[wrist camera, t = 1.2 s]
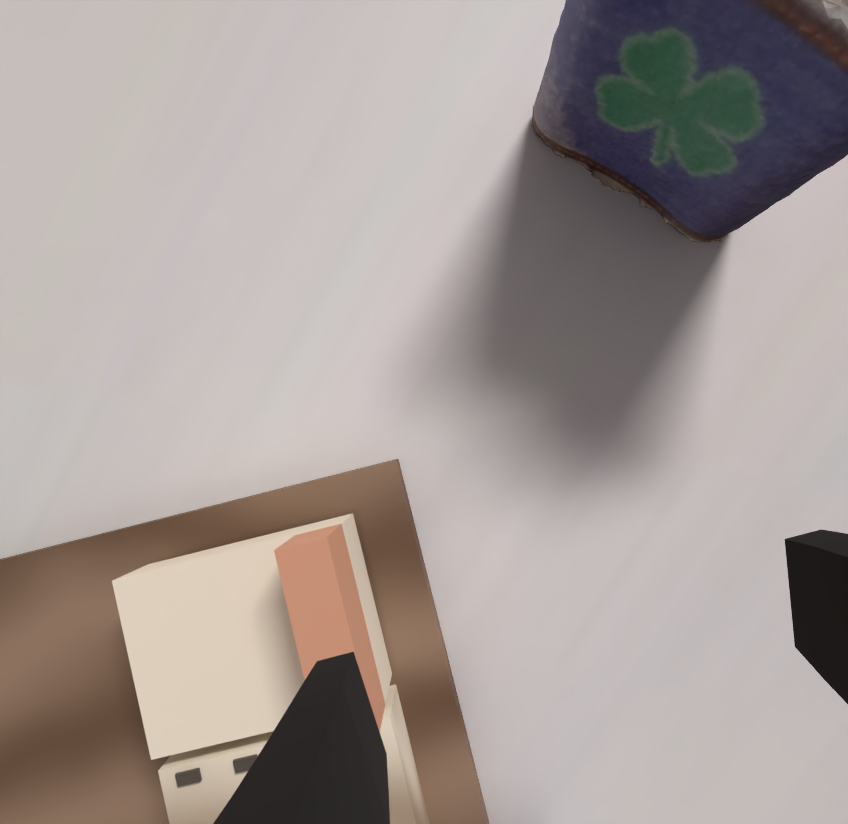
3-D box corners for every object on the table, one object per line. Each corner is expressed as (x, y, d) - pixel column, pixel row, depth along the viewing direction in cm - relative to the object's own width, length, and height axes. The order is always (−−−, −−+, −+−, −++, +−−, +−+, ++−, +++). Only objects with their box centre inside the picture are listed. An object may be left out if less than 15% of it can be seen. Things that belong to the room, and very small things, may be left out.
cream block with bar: (392, 673, 18) (376, 744, 14) (183, 723, 18) (109, 807, 14) (352, 512, 18) (326, 537, 14) (148, 564, 18) (65, 602, 14)
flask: (517, 131, 20) (609, -232, 9) (559, 72, 20) (702, -362, 9) (711, 259, 19) (1059, 40, 8) (754, 199, 19) (1155, -98, 8)
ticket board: (500, 867, 18) (511, 955, 15) (5, 977, 19) (-79, 1084, 16) (398, 458, 19) (389, 464, 16) (-75, 578, 20) (-171, 605, 17)
